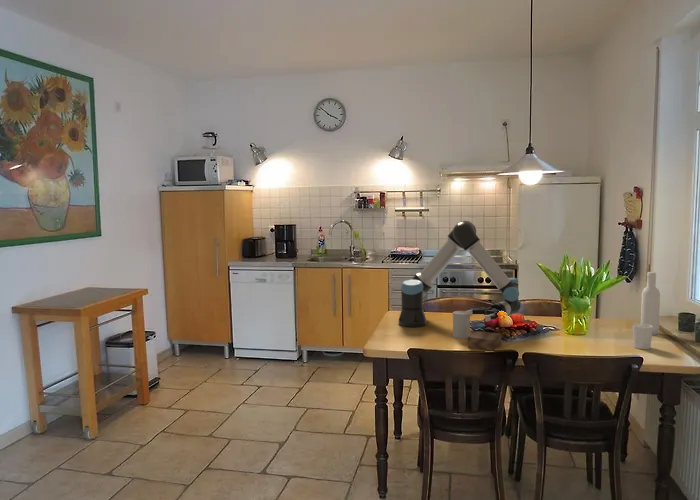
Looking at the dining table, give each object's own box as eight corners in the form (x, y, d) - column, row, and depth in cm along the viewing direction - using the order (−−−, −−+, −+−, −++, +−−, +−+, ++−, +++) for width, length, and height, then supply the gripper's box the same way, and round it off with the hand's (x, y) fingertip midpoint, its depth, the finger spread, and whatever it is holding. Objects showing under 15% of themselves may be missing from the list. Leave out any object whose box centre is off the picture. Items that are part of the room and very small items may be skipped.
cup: (470, 338, 252) (470, 314, 251) (453, 338, 254) (453, 314, 252) (469, 334, 260) (469, 310, 259) (453, 333, 262) (453, 310, 260)
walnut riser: (467, 347, 238) (467, 336, 237) (476, 341, 248) (476, 330, 247) (493, 351, 232) (493, 340, 231) (501, 344, 242) (501, 333, 241)
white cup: (627, 345, 236) (628, 323, 235) (644, 344, 237) (645, 323, 236) (639, 350, 228) (639, 328, 227) (656, 349, 229) (656, 327, 228)
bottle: (643, 329, 262) (645, 270, 259) (660, 332, 256) (663, 272, 253) (637, 333, 256) (640, 272, 253) (655, 335, 251) (658, 274, 247)
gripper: (520, 320, 266) (495, 328, 253) (480, 313, 285) (455, 319, 272) (520, 306, 265) (495, 312, 252) (480, 299, 284) (455, 305, 271)
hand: (474, 316), depth 262 cm, fingers open, 13 cm apart
